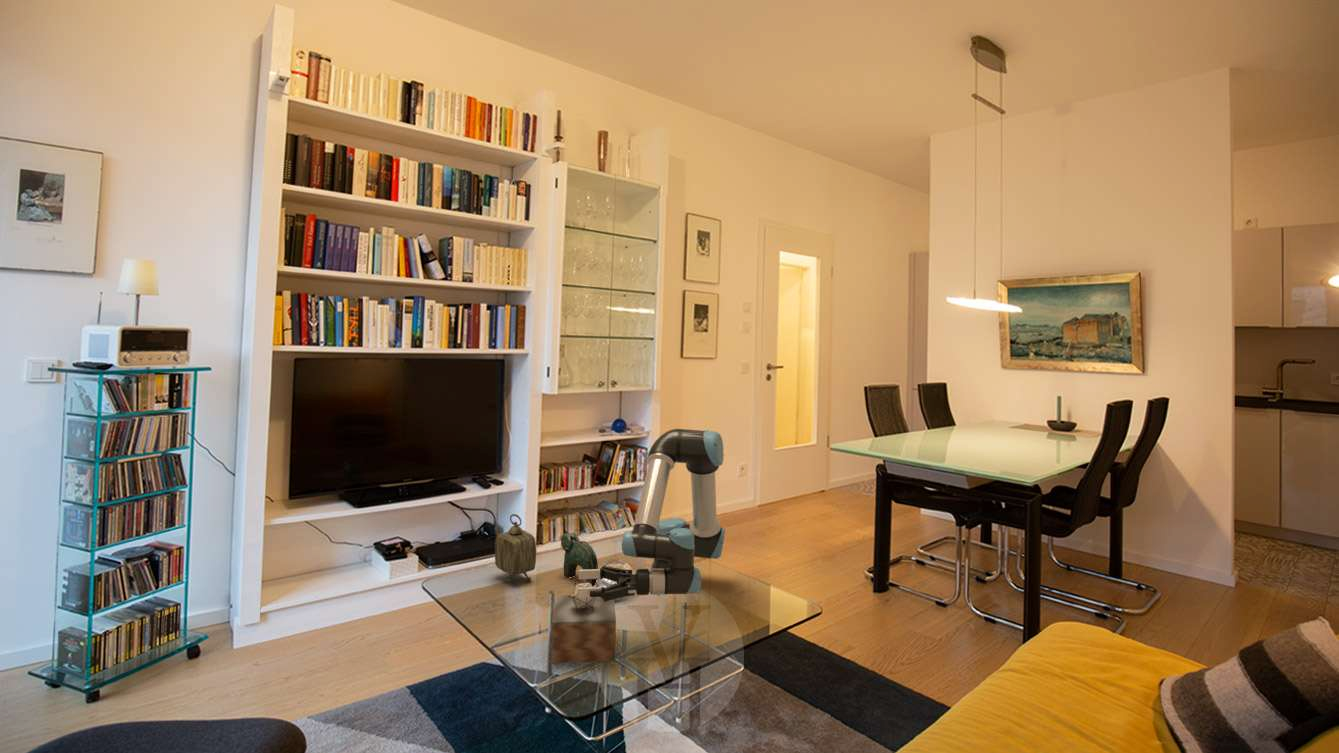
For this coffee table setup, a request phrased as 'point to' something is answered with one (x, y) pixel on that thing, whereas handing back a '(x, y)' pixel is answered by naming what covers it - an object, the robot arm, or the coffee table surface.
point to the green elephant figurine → (577, 555)
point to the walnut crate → (583, 631)
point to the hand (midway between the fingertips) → (578, 583)
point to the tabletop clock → (515, 551)
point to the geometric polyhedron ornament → (582, 601)
